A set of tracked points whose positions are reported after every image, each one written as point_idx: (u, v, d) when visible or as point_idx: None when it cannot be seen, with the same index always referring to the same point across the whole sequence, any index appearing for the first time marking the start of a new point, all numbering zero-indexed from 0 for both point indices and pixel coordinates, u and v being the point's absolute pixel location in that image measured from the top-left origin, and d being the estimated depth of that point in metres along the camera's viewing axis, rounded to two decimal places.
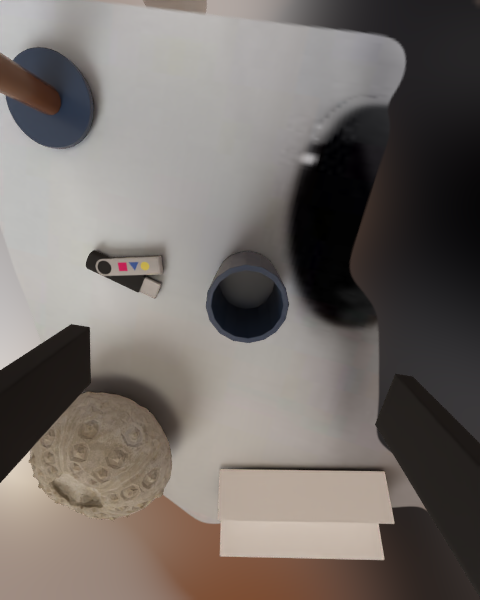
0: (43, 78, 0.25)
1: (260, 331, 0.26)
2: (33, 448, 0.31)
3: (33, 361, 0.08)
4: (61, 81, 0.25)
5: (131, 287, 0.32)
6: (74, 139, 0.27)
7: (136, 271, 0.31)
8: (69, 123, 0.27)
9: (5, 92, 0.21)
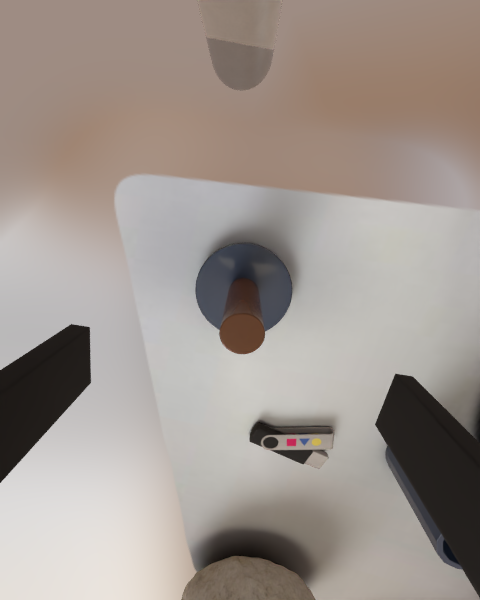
0: (243, 273, 0.22)
1: None
2: None
3: (33, 361, 0.08)
4: (263, 275, 0.22)
5: (296, 460, 0.29)
6: (265, 329, 0.24)
7: (305, 446, 0.28)
8: (263, 314, 0.23)
9: None
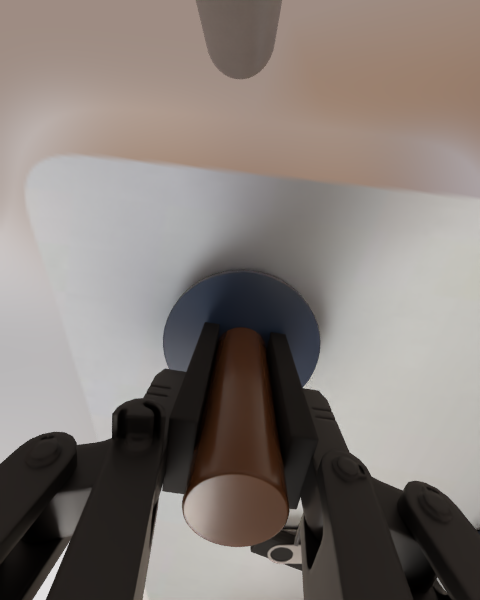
0: (240, 319, 0.13)
1: None
2: None
3: (206, 350, 0.11)
4: (273, 323, 0.14)
5: None
6: None
7: None
8: None
9: None
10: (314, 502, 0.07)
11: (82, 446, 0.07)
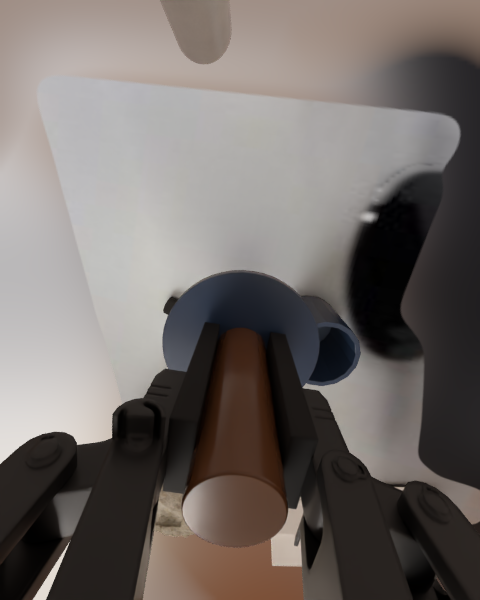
0: (240, 319, 0.13)
1: (331, 374, 0.30)
2: None
3: (207, 350, 0.11)
4: (272, 323, 0.14)
5: None
6: None
7: None
8: None
9: None
10: (314, 502, 0.07)
11: (82, 446, 0.07)
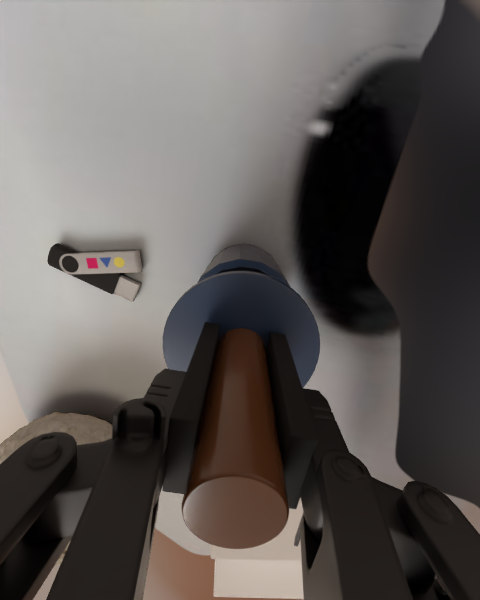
0: (240, 320, 0.13)
1: None
2: None
3: (207, 350, 0.11)
4: (273, 324, 0.14)
5: (103, 288, 0.26)
6: None
7: (109, 268, 0.26)
8: None
9: None
10: (314, 502, 0.07)
11: (82, 446, 0.07)
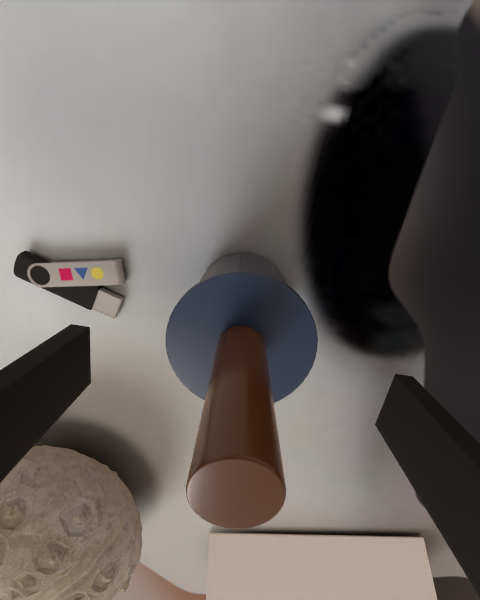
0: (240, 317, 0.14)
1: None
2: None
3: (33, 361, 0.08)
4: (272, 322, 0.14)
5: (80, 303, 0.23)
6: (274, 399, 0.16)
7: (85, 281, 0.22)
8: (271, 379, 0.15)
9: None
10: None
11: None
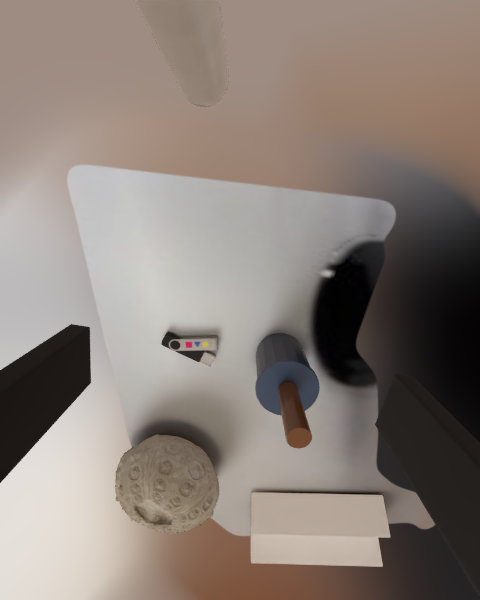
0: (288, 378, 0.34)
1: None
2: (121, 480, 0.41)
3: (33, 361, 0.08)
4: (300, 379, 0.34)
5: (193, 358, 0.43)
6: None
7: (198, 348, 0.42)
8: None
9: None
10: None
11: None
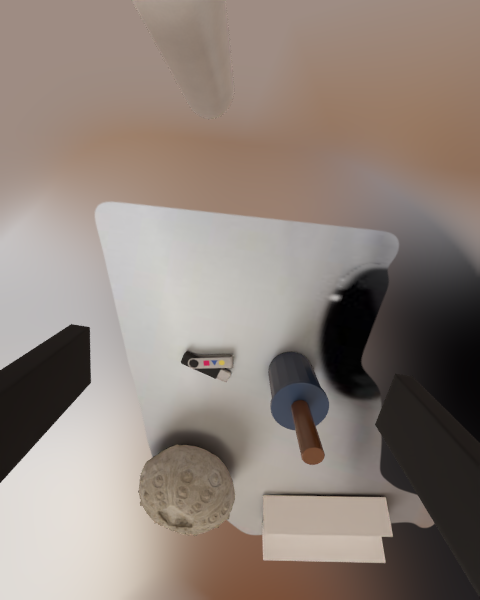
0: (300, 397, 0.38)
1: None
2: (146, 487, 0.45)
3: (33, 361, 0.08)
4: (312, 398, 0.38)
5: (211, 375, 0.46)
6: None
7: (215, 366, 0.45)
8: None
9: None
10: None
11: None
